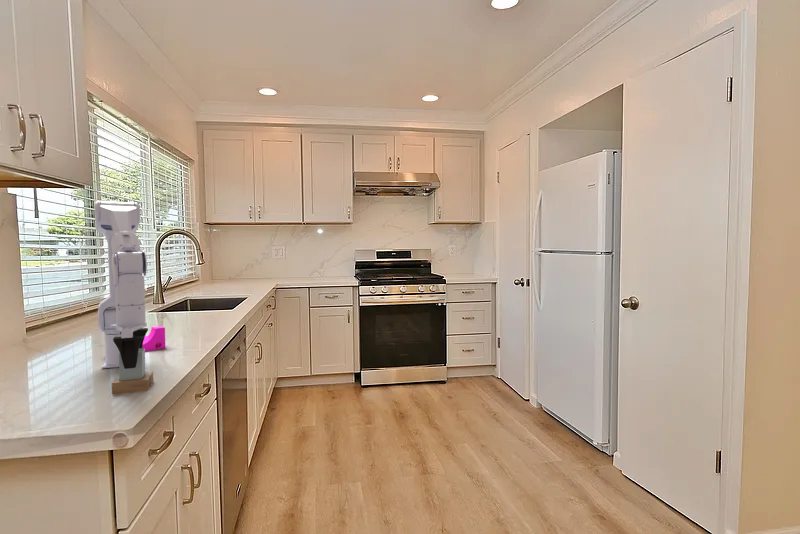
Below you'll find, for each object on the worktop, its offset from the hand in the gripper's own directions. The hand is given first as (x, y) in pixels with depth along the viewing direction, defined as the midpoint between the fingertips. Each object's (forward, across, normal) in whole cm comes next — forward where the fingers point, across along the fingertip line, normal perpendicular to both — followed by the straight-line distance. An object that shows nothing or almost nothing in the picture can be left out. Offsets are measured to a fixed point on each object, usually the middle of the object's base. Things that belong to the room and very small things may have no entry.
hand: (132, 364), depth 104 cm
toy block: (+6, -40, -4) cm, 41 cm away
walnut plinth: (+6, 0, 0) cm, 6 cm away
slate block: (+3, 0, 0) cm, 3 cm away
